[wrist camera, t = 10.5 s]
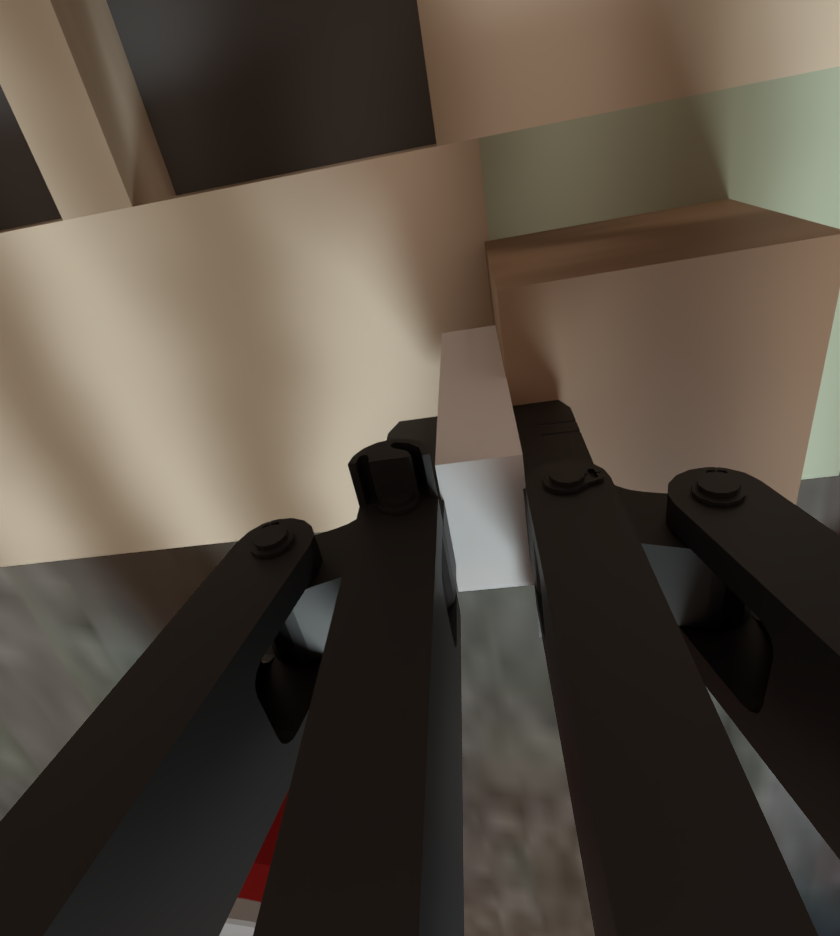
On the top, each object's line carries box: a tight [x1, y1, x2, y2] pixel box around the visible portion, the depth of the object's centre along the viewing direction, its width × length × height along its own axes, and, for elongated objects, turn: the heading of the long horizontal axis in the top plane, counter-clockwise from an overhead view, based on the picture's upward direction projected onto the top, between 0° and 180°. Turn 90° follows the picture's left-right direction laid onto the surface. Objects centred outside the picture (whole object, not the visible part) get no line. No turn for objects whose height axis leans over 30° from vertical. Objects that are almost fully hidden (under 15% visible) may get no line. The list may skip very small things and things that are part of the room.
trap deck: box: [0, 0, 840, 567], centre depth 16 cm, size 40×22×3 cm, turn 100°
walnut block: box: [484, 199, 840, 505], centre depth 14 cm, size 6×6×5 cm
